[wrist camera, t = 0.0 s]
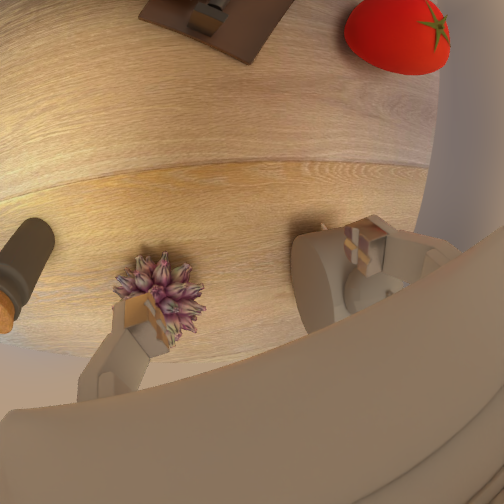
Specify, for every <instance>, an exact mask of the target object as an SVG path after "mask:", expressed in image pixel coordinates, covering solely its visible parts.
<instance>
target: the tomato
mask: <svg viewBox="0 0 504 504" xmlns="http://www.w3.org/2000/svg"><path fill="white" fill-rule="evenodd" d="M446 18H447V15H446V16H445V17H443V15H442V13H441V12H440V10H439V9H438V8H437V6H436V5H435V4H433V3H432V2H431V1H429V0H364V1H362V2H361V3H360V4H359V5H358V6H356V7H355V8H354V10H353V11H352V12H351V14H350V16H349V18H348V20H347V22H346V25H345V29H344V37H345V40H346V43H347V44H348V46H349V47H350V49H351V50H352V51H353V52H354V53H355V54H356V55H358V56H359V57H360V58H362V59H363V60H365V61H366V62H368V63H370V64H371V65H373V66H375V67H378V68H381V69H384V70H387V71H390V72H394V73H399V74H404V75H424V74H428V73H432V72H434V71H436V70H438V69H440V68H442V67H443V66H444V65H445V63H446V61H447V59H448V57H449V53H450V47H451V46H450V37H449V31H448V27H447V24H446Z"/></svg>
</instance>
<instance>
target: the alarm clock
mask: <svg viewBox="0 0 504 504" xmlns="http://www.w3.org/2000/svg"><path fill="white" fill-rule="evenodd" d="M321 227H322V231H317V232H311V233H306V234H301V235H299V236H297V237H296V238H295V240H294V242H293V245H292V249H291V276H292V284H293V289H294V295H295V299H296V303H297V307H298V310H299V313H300V316H301V320H302V322H303V324H304V327H305V329H306V331H307V333H308V334H311V333H313V332H315V331H318V330H320V329H322V328H324V327H327V326H329V325H331V324H333V323H336V322H338V321H340V320H342V319H344V318H346V317H348V316H351V315H353V314H355V313H357V312H359V311H361V310H363V309H365V308H367V307H369V306H371V305H373V304H375V303H377V302H379V301H381V300H383V299H385V298H387V297H389V296H391V295H392V294H394V293H396V292H398V291H400V290H402V289H403V283H402V280H400V279H397V278H395V277H393V276H390V275H388V274H385V273H383V272H379V273H377V274H375V275H372V276H370V277H368V278H366V277H365V276H364V275H363V274H362V273H361V272H360V271H359V270H358V265H357V264H353V263H351V262H350V261H349V260H348V258H347V257H346V254H345V251H344V242H345V240H346V238H347V237H346V236H345V235H344V227H339V228H334V229H328V230H327V228H326V227H325V225H324V224H323V223H321Z"/></svg>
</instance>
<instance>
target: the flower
mask: <svg viewBox="0 0 504 504" xmlns="http://www.w3.org/2000/svg"><path fill="white" fill-rule="evenodd" d="M135 260H136V270H135V271H132V270H130V269H129V268H127V267H126V269H124V270H125V272H126V273H127V275H128V277H125V276H121V275H118V277H115V278H116V279H117V280H118V281H119V282H120V283H121V284H122V286H121V287H116V286H114V288H113V292H115V293H117V294H118V295H119V296H120V297H121V298H122V299H121V300H120V301H123V300H127V299H129V298H133V297H136V296H139V295H142V294H145V293H151V294H152V296H153V298H154V299H155V306H157V307H159V308H160V310H161V312H162V314H163V316H164V319H165V322H166V327H167V331H166V333H165V335H166V336H167V338H168V343H169V346H170V348H171V347H175V346H176V345H175V341H178V340H179V337H181V335H182V332H181V328H182V329H184V330H189V331H192V332H194V333H197V332H196V330H197V329H196V328H195V327H194V325H193V322H192V320H193V321H196V320H197V317H196V316H195V315H201V311H206V306H202V305H199V304H198V303H197V302H196V301H194V299H195V298H197V297H200V296H201V294H202V293H201V292H199V291H200V290H202V289H204V286H203V283H200V284H195V283H191V282H188V281H189V274H190V272H191V270H192V268H191V267H190V264H189V265H188V264H187V263H184V264H183V265H182V266H179V267H176V268H175V269H173V270H172V271H171V265H170V262H169V260H168V252H167V251H165V252H163V254H162V257H161V259H160V260H159V261H158V263H157V265H155V263H154V262H153V261H152V259H151V257H150V256H148V257H146V261H145V260H144V259H143V257H142V256H141V255H139V256H136V257H135ZM120 301H119V302H120ZM112 309H113V310H114V305H113V306H112Z"/></svg>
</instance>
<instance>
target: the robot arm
mask: <svg viewBox="0 0 504 504" xmlns="http://www.w3.org/2000/svg"><path fill="white" fill-rule="evenodd" d="M344 235H345V236H346V237H347V238H346V240H345V242H344V251H345V254H346V257H347V258H348V260H349V261H350V262H351V263H353V264H357V265H358V270H359V271H360V272H361V273H362V274H363V275H364V276H365V277H366V278H368V277H370V276H372V275H375V274H377V273H379V272H383V273H385V274H388V275H390V276H393V277H395V278H397V279H400V280H402V281H404V282H407V283H409V284H411V285H409V286H407V287H405V288H403V289H402V290H400V291H398V292H396V293H394V294H392V295H391V296H389V297H387V298H385V299H383V300H381V301H379V302H377V303H375V304H373V305H371V306H369V307H367V308H365V309H363V310H361V311H359V312H357V313H355V314H353V315H351V316H348V317H346V318H344V319H342V320H340V321H338V322H336V323H333V324H331V325H329V326H327V327H324V328H322V329H320V330H318V331H315V332H313V333H311V334H308V335H306V336H304V337H301V338H299V339H296V340H294V341H291V342H289V343H286V344H284V345H281V346H279V347H276V348H274V349H271V350H269V351H266V352H263V353H261V354H258V355H255V356H252V357H250V358H247V359H244V360H241V361H238V362H235V363H233V364H229V365H226V366H224V367H220V368H217V369H214V370H211V371H208V372H205V373H201V374H198V375H195V376H192V377H188V378H184V379H181V380H177V381H174V382H170V383H166V384H163V385H159V386H155V387H151V388H147V389H143V390H138V388H139V386H140V383H141V381H142V378H143V376H144V374H145V371H146V369H147V366H148V364H149V362H150V358H152V357H156V356H159V355H162V354H165V353H168V352H170V351H169V343H168V338H167V336H166V335H165V333H166V331H167V327H166V322H165V319H164V316H163V314H162V312H161V310H160V308H159V307H157V306H155V299H154V298H153V296H152V294H151V293H145V294H142V295H139V296H136V297H133V298H129V299H127V300H123V301H120V302H117V303H115V305H114V310H113V320H112V331H111V333H110V334H108V335H107V337H106V338H105V339H104V341H103V342H102V344H101V345H100V347H99V348H98V350H97V351H96V353H95V354H94V356H93V357H92V359H91V360H90V362H89V363H88V365H87V366H86V368H85V369H84V371H83V372H82V374H81V375H80V377H79V381H78V394H77V403H71V404H64V405H56V406H48V407H39V408H30V409H15V410H11V411H9V412H8V413H7V414H6V415H5V417H4V418H3V419H2V420H1V422H0V504H504V226H502V227H500V228H498V229H497V230H496V231H494V232H493V233H491V234H490V235H489V236H487V237H486V238H484V239H483V240H482V241H480V242H479V243H477V244H476V245H474V246H473V247H471V248H470V249H468V250H467V251H465V252H464V253H462V252H461V251H459V250H458V249H457V248H455V247H454V246H453V245H452V244H450V243H449V242H447V241H446V240H442V239H438V238H434V237H430V236H425V235H421V234H416V233H413V232H408V231H404V230H399V231H398V230H396V229H395V228H394V227H392V226H391V225H389V224H388V223H387V222H385V221H384V220H382V219H381V218H380V217H378V216H377V215H371V216H368V217H366V218H364V219H361V220H359V221H356V222H353V223H350V224H347V225H345V227H344Z"/></svg>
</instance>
